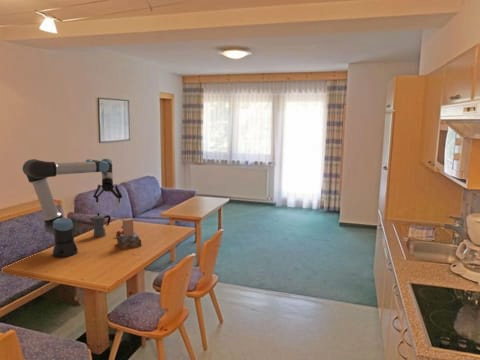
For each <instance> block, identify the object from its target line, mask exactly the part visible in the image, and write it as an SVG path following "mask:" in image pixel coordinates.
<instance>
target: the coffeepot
mask: <svg viewBox="0 0 480 360" xmlns="http://www.w3.org/2000/svg"><path fill="white" fill-rule="evenodd" d="M105 219H107V224H105V221H106V220H105ZM89 220H90V221H91V222H92V224H93V226H94V229H93V237H94V238H103V237H105V236H106V235H107V233H106V229H105V227H107V226H110V221H111V216H110V215H101V214H100V213H99V212H97V215H95V216H92V217H91V216H90V217H89ZM104 225H105V226H104Z"/></svg>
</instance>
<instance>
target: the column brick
mask: <svg viewBox="0 0 480 360" xmlns="http://www.w3.org/2000/svg"><path fill="white" fill-rule="evenodd" d="M122 225H123V229H122V231H123V234H124V236H125V237H130V236H134V219H133V218H132V217H128V218H122Z"/></svg>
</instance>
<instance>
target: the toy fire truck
mask: <svg viewBox="0 0 480 360" xmlns="http://www.w3.org/2000/svg"><path fill="white" fill-rule="evenodd" d="M120 228H121V229H122V231H120V230H118V231H116V235H115V237H116V238H118V237H119V238H120V234H123V224H122V225H121V227H120Z"/></svg>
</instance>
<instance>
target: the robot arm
mask: <svg viewBox="0 0 480 360" xmlns="http://www.w3.org/2000/svg"><path fill="white" fill-rule="evenodd" d="M22 172H23V174H24V175H25V176H26V178H27V180H28V182H29V183H30V184H32V186H33V189H34V191H35V193H36V196H37V199H38V202H39V205H40V206H41V210H42V212H43V214H44V217H43V222H44V229H45V230H46V232H47V233H49V234H51V235H53V236H54V237H53V239H54V244H53V249H52V257H54V258H67V257H71V256H74V255H76V254H77V253H78V251H79V250H78V247H77V245H76V242H75V239H74V238H75V235H74V224H73V219H71V218H68V217H63V213H62V212H60V211H59V210H58V207H57V205H56V202H55V199H54V197H53V194H52V191H51V188H50V185H49V183H48V178H53V177H55V178H56V177H57V176H60V175H62V176H63V175H73V174H89V173H101V184H98V185H97V188H96V190H95V192H94V193H93V195H92V198H95V202H96V203H97V205H96V206H97V208H100V196H101V195H102V194H103V193H104V192H110V193H111V194H112V195H114V197H115V198H116V201H115V202H116V208H119V206H120V203H121V199H122V198H123V195H122V194H121V192H120V190H119V188H118V185H114V182H113V181H114V180H113V178H114V177H113V163H112V159H110V158H102V159H101V160H96V159H89V158H87V159H86V160H85V161H81V162H80V161H79V162H78V161H77V162H76V161H75V162H55V161H44V160H39V159H35V158H33V159H28V160H26V161H24V163H23V165H22ZM101 188H102V190H101V191H100V192H99V190H100V189H101ZM98 192H99V193H98Z"/></svg>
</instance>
